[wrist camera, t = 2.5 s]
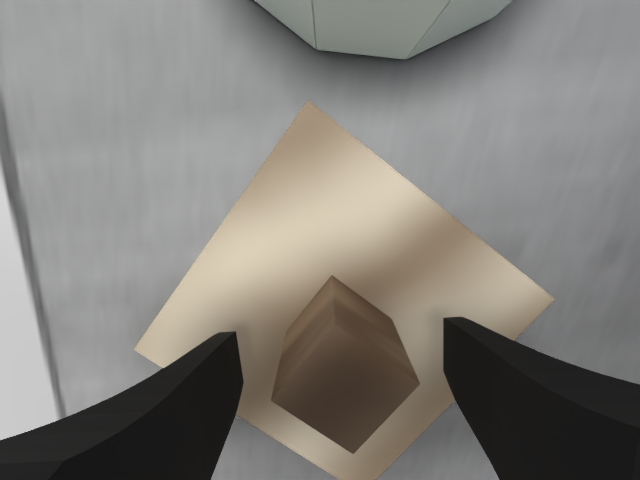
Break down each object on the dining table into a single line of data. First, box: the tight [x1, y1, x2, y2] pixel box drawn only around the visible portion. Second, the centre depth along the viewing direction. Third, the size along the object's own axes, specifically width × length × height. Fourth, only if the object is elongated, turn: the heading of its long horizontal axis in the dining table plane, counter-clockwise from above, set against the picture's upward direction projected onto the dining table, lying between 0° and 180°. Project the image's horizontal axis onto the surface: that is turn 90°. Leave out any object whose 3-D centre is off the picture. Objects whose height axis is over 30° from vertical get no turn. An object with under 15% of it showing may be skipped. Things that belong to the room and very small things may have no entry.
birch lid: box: [134, 101, 555, 480], centre depth 12 cm, size 12×12×5 cm
